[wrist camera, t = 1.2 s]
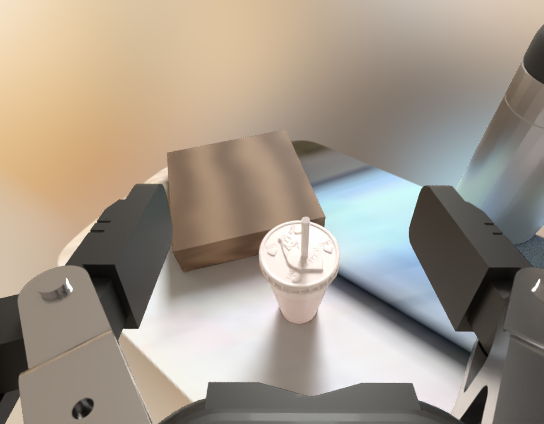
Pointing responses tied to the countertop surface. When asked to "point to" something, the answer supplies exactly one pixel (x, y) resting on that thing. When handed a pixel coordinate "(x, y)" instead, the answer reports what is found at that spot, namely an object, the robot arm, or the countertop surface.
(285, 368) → the countertop surface
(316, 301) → the smoothie
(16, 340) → the robot arm
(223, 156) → the plinth
